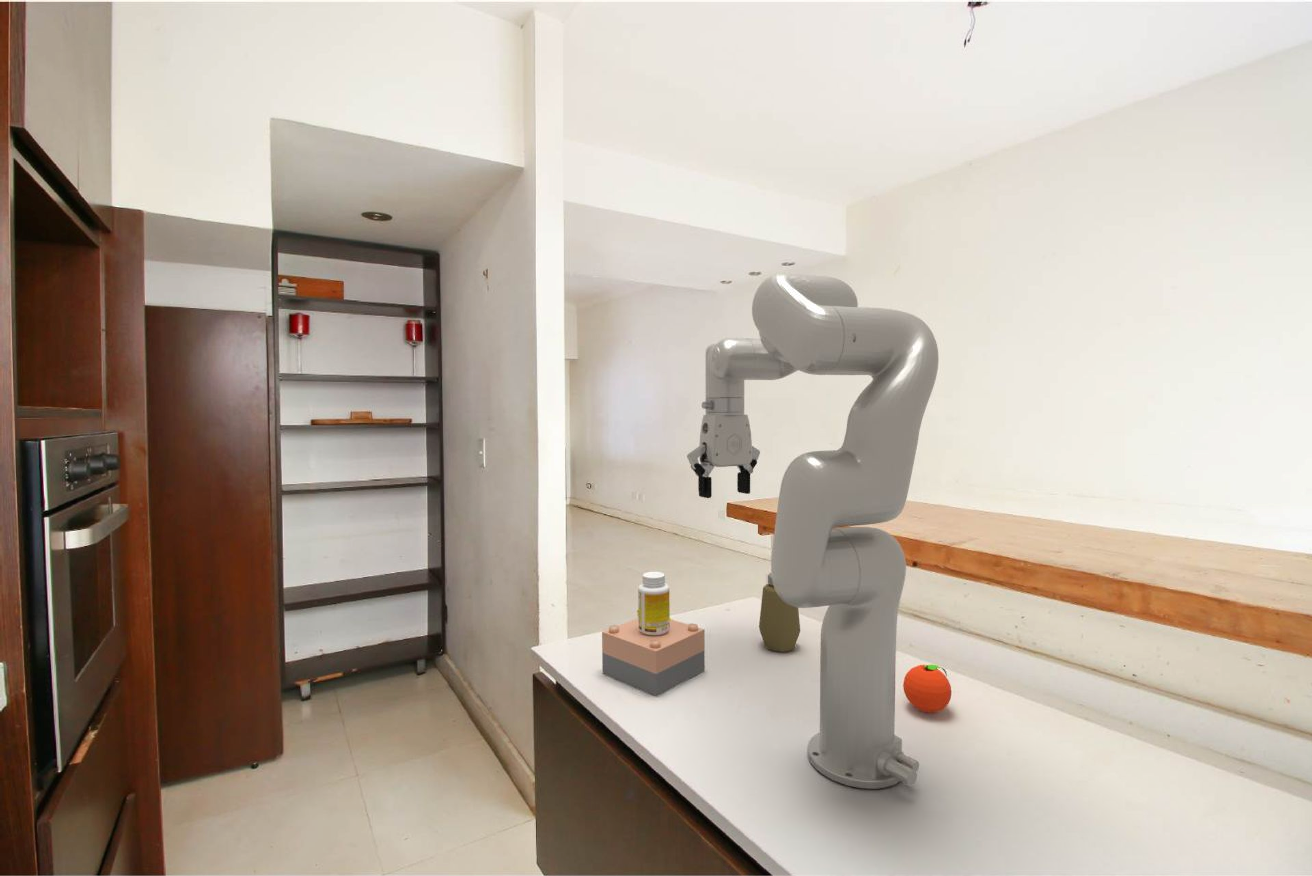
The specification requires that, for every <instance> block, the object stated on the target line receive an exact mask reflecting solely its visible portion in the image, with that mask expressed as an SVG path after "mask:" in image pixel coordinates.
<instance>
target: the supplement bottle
mask: <svg viewBox="0 0 1312 876" xmlns="http://www.w3.org/2000/svg"><path fill="white" fill-rule="evenodd" d="M665 575H666V574H665V573H663V572H660V571H649V572H645V573H643V574H642V583H641V584H639V586H638V588H637V589H638V591H637V592H638V605H637V606H638V609H639V617H638V618H639V630H640V631H641V632H642V633H643V634H646V635H662V634H665V633H666V632H668V631H669V628H670V619H671V618H670V617H671V616H670V607H671V606H670V586H669V585H668V584H667V583H666V576H665ZM638 609H637V610H638Z"/></svg>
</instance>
